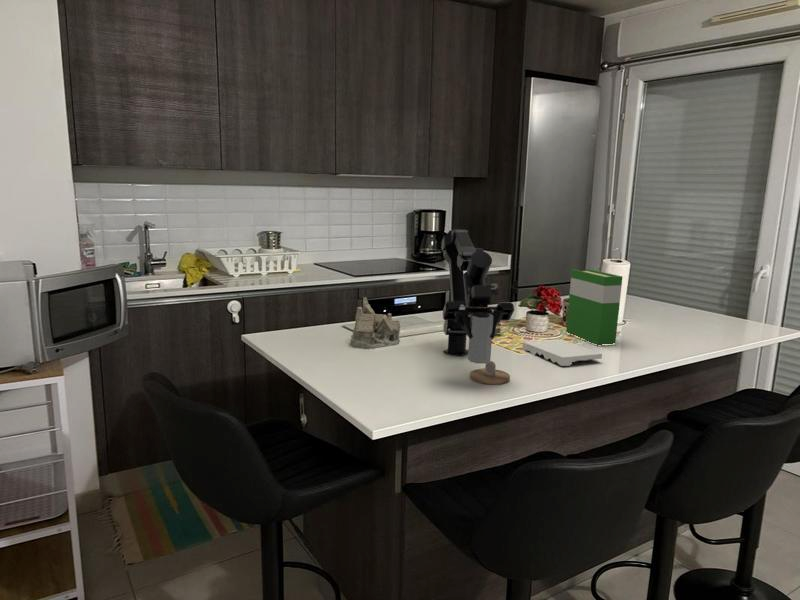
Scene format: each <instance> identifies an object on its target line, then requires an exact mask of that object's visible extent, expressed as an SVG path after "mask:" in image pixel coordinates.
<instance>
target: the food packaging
mask: <svg viewBox="0 0 800 600" xmlns="http://www.w3.org/2000/svg"><path fill="white" fill-rule="evenodd" d="M522 349H524V350H525V351H526V352H530V354H531V355H533V356H535V355H537V354H538V355H539V356H542V355H543V357H544V359H545V360H549V359H550V361H551V362H552V363H554V364H556V363H557V364H558V365H559V366H561V367H563V366H564V367H568V366H571V365H572V364H573V363H572V362H574V363H577V362H589V361H591V360H602V357H603V354H602V353H601V352H597V351H595V350H592V349H590V348H586V347H583V346H580V345H577V344H574V343H572V342H570V341H566V340H563V339H561V338H559V339H547V340H546V339H545V340H533V341H532V340H531V341H523V342H522Z"/></svg>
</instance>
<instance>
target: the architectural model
mask: <svg viewBox="0 0 800 600" xmlns="http://www.w3.org/2000/svg"><path fill="white" fill-rule="evenodd" d="M503 328H504V326H502V322H501V321H500V322H499V323H497V325H496V330H495V334H496V335H498V334H497V333H500V334H501V333H502V332H501V331H502V329H503ZM495 334H494V335H495Z"/></svg>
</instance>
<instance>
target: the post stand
mask: <svg viewBox="0 0 800 600" xmlns="http://www.w3.org/2000/svg"><path fill="white" fill-rule="evenodd" d="M496 367H497V366H496V363H495V361H492V360H490V362H488V363H486V364H485V366H484V368H477V369H473V370H471V371H470V373H469V379H471V380H472V381H474V382H475V383H479V384H483V385H489V386H495V385H496V386H497V385H498V386H499V385H505V384H508V383H509V382H510V381H511V375H510V373H507V372H506V371H503V370H500V369H497V368H496Z"/></svg>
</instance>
